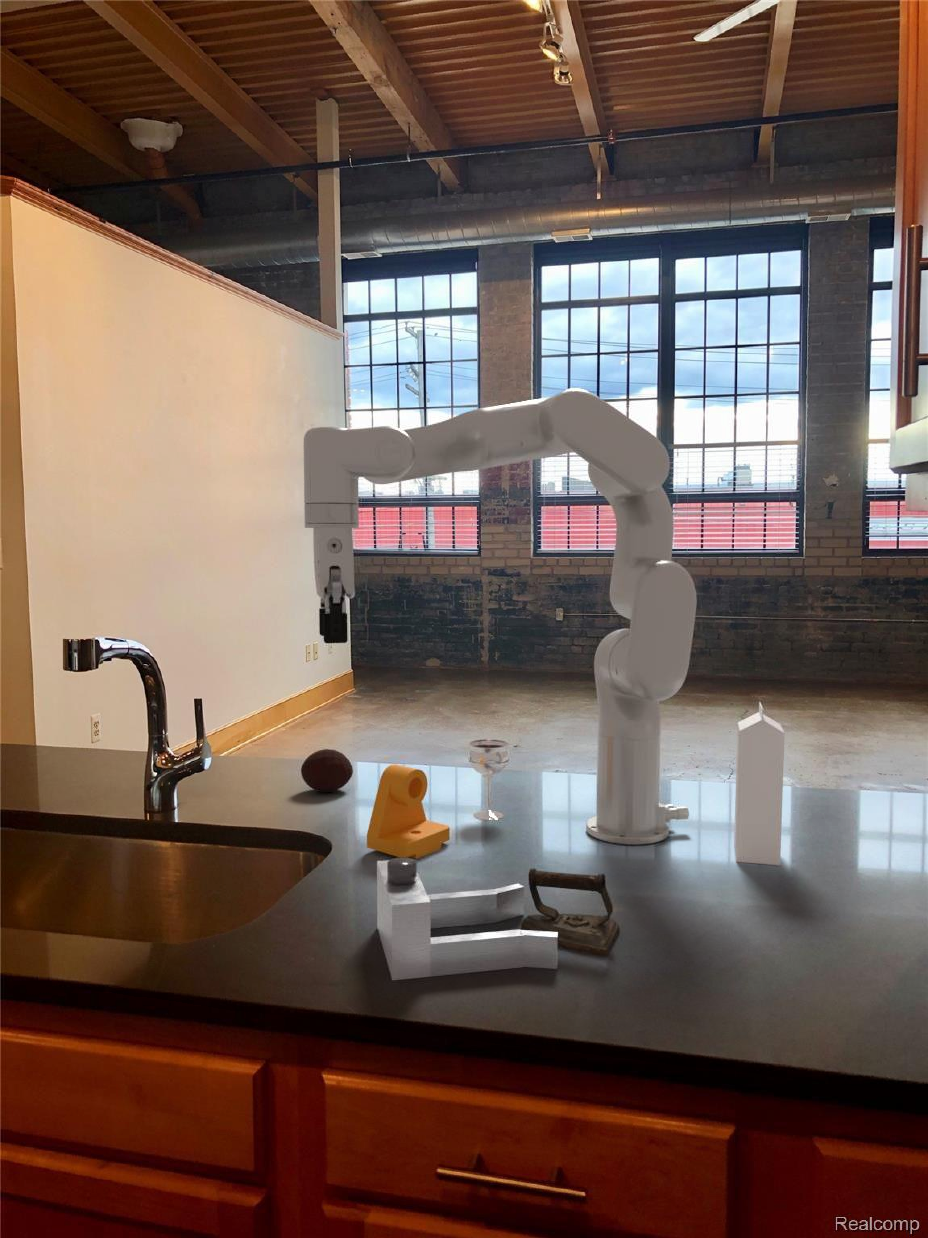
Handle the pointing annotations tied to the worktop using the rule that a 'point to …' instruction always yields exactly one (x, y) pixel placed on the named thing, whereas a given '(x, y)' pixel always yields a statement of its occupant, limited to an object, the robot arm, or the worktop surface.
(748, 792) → the milk
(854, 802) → the worktop surface
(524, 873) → the worktop surface
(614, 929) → the clothes iron
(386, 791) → the bracket
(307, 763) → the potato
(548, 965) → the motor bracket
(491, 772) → the wineglass
